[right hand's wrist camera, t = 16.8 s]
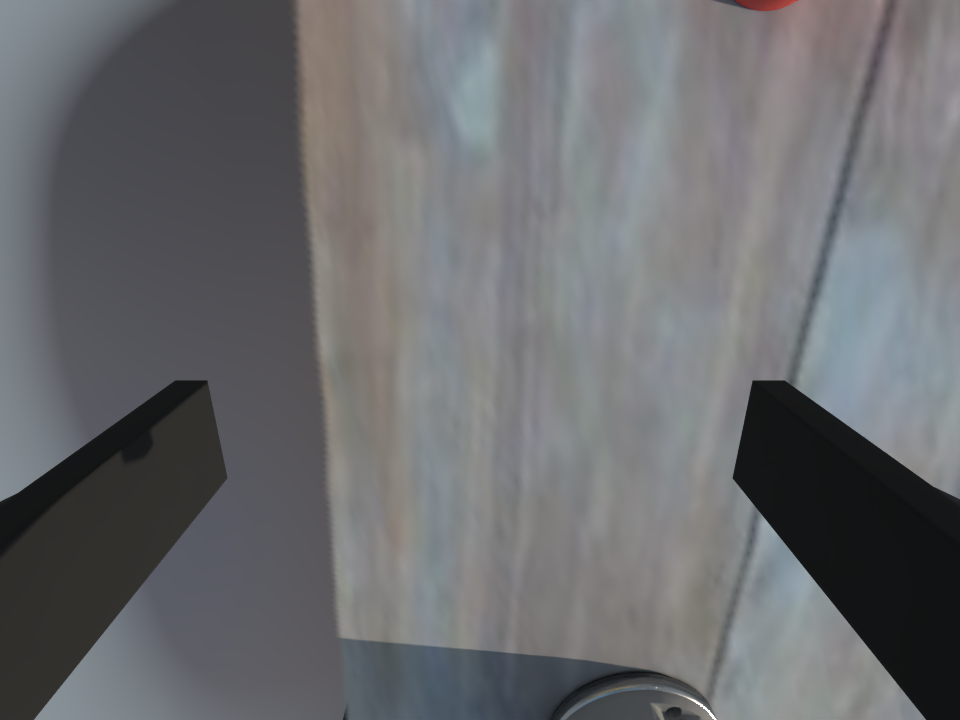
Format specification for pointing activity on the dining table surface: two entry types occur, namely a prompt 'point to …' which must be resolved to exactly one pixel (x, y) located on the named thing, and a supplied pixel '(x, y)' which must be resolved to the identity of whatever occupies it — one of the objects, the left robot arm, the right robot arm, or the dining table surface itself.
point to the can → (765, 4)
